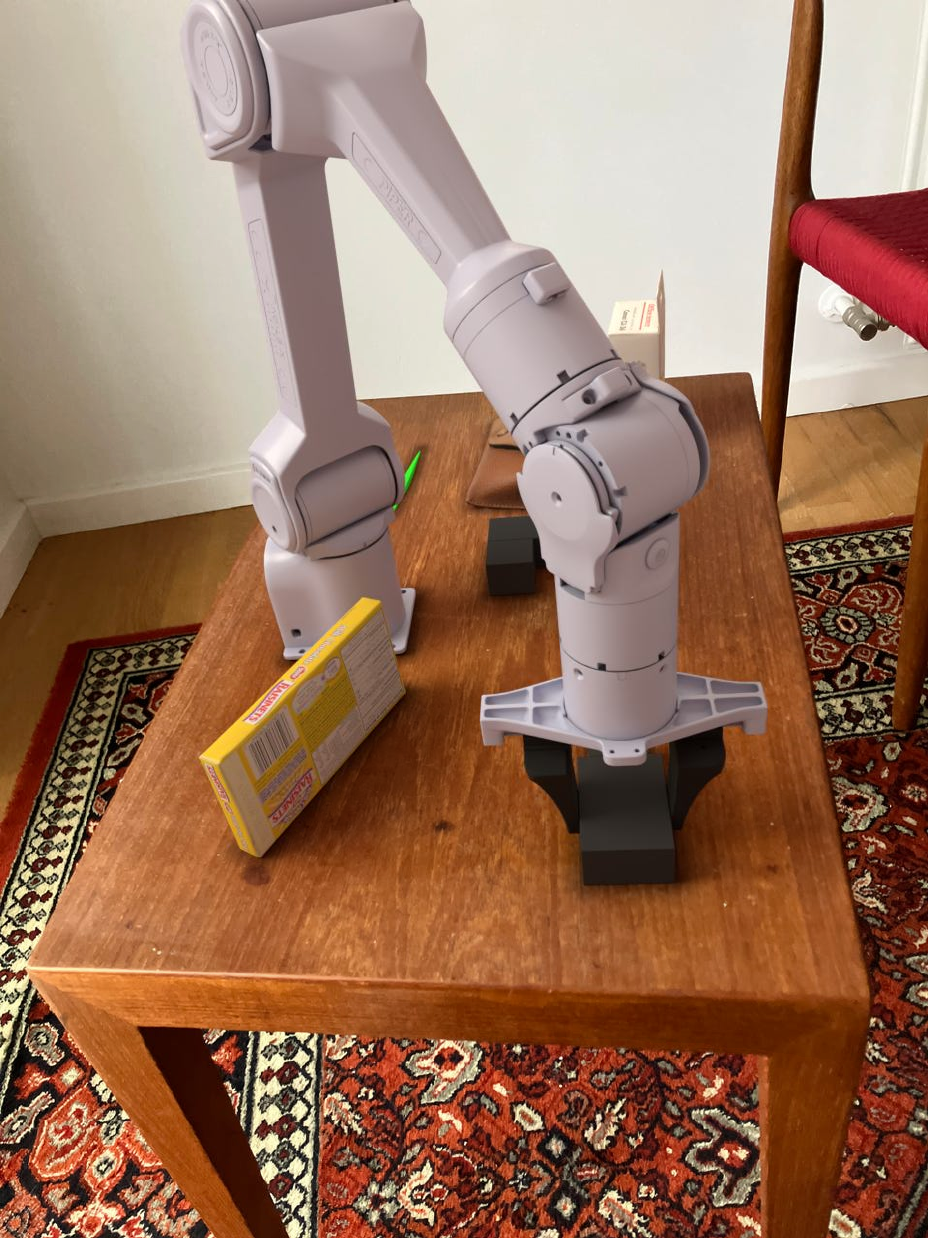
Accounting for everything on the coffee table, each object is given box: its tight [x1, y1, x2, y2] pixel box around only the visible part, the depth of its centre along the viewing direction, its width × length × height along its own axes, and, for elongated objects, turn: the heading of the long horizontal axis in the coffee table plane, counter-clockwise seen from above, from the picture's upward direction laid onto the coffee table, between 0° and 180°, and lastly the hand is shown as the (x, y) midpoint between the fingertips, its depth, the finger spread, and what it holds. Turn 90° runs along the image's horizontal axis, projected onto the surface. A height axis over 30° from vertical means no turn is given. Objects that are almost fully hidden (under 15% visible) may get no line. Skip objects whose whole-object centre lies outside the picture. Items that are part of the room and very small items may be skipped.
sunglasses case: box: [465, 416, 527, 511], centre depth 92 cm, size 18×7×7 cm
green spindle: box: [393, 447, 423, 512], centre depth 93 cm, size 1×14×1 cm, turn 170°
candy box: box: [198, 597, 407, 858], centre depth 60 cm, size 16×2×8 cm, turn 149°
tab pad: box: [576, 748, 676, 886], centre depth 55 cm, size 5×10×3 cm, turn 176°
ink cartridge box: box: [607, 268, 666, 382], centre depth 91 cm, size 9×5×15 cm, turn 168°
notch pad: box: [485, 515, 547, 596], centre depth 77 cm, size 12×7×3 cm, turn 86°
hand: (623, 818), depth 54 cm, fingers open, 5 cm apart
